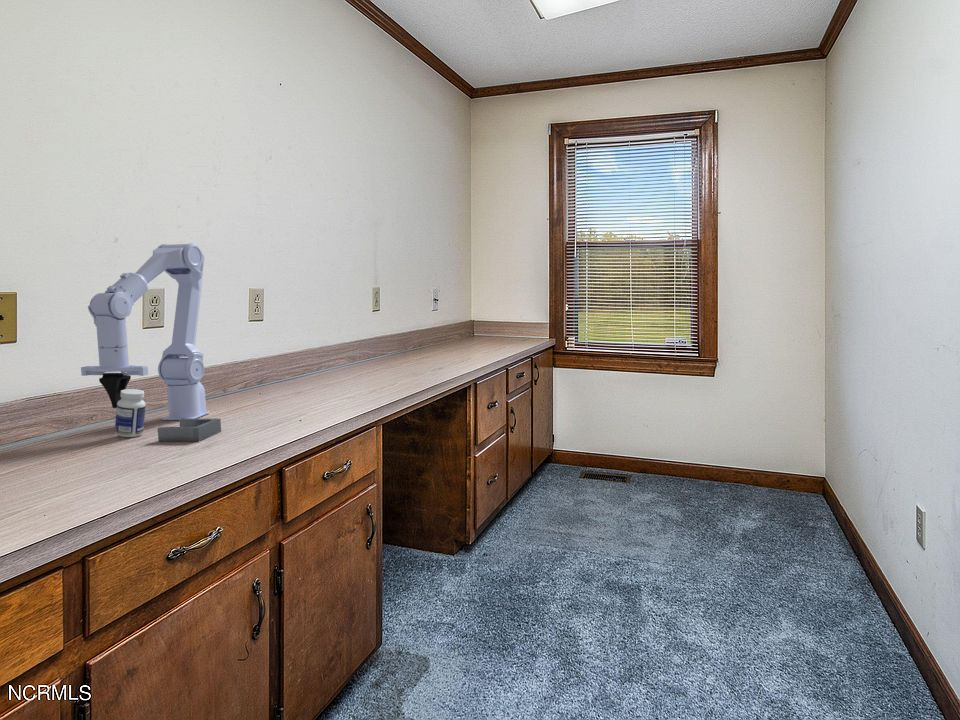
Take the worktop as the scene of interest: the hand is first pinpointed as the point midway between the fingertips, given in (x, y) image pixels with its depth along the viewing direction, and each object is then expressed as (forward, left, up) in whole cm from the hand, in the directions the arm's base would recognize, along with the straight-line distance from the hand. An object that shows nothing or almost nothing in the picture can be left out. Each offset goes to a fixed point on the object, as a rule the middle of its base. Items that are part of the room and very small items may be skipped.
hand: (117, 407), depth 144 cm
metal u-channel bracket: (0, +16, -7) cm, 17 cm away
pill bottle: (0, +2, -6) cm, 7 cm away
